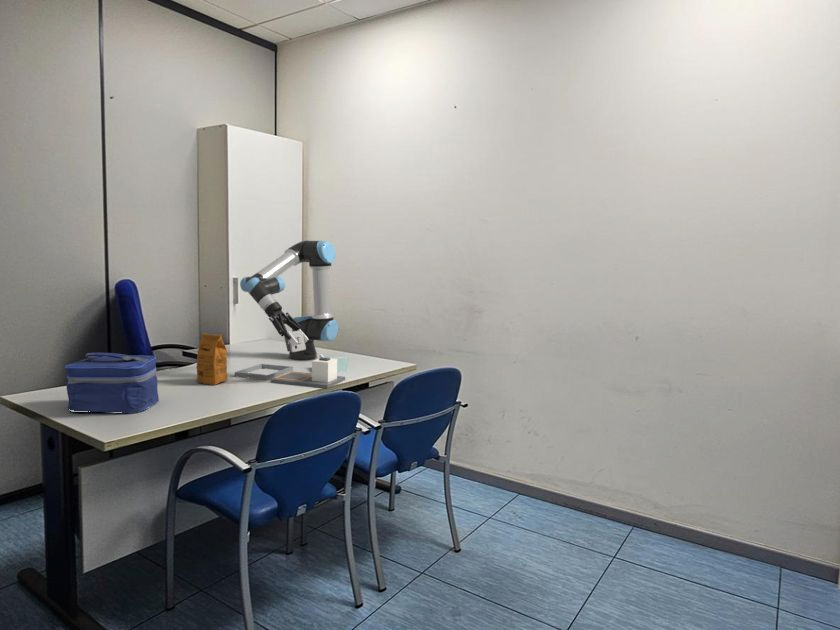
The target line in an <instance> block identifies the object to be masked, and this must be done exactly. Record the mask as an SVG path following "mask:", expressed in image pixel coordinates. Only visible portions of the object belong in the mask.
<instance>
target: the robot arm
mask: <svg viewBox="0 0 840 630" xmlns="http://www.w3.org/2000/svg"><path fill="white" fill-rule="evenodd" d="M336 254H337V253H336V249H335V247H334V245H333V244H332V243H331V242H330V241H327V240H302V241H300V242H297V243H295V244H294V245H291V246H290V247H288V248H287V249H285V251H284V252H283V254H281V256H279V257H277V258H276V259H275V260H273V261H272V262H271V263H269V264H267V265H266V266H265V267H263V268H261V269H260V270H259V271H257V272H256V273H254V274H252V275H251V276H244V277H242V279H240V284H239V285H240V289H241V291H242V292H245V293H248V295H250V296H251V298H252V299H253V300H254V301H255V302H256V303H257V305H258V306H259V307H260V309H262V311H264V313H265V314H266V315H267V317H268V320H269V321H270V322H271V323H272V325H273V326H274V328H275V330H276V331H277V333H278V334H279V336H281V337H283V338H285V337H286V338H287V340H288V341H289V342H290V343H291V344H292V346H293V347H294V346H295V345H296V344H297V343H298V342H297V341H296V339H295V338H294V337H293V336H292V335H291V333H290V332H293V331H299V330H301V331H302V333H303V337H304V342H305V346H306V349H305V350H302V351H297V352H291V351H289V353H288V356H289V358H290V359H291V360H301V359H304V360H312V358H313V359H315V358H316V359H317V358H318V357H317V356H318V353H317V350H316V347H315V344H314V343H315V341H318V342H319V341H320V342H332V341H334V339H335V338H336V336H337V335H338V333H339V332H338V331H339V324H338V322H337V321H336V320H335V319H334V315H333V314H332V313H331V295H330V294H331V292H330V275H329V274H330V273H329V270H330V268H332V263H334V261H335V260H336ZM301 263H302V264H303V263H308V265H309V268H310V269H311V270H312V271H311V272H312V290H313V291H312V292H313V295H312V296H313V312H314V313H313V314H312V315H302V316H295V317H293V316H291V315H290V313H289V312H286V313H285V312H283V311H282V309H283V307H282V305H281V304H280V303H279V302H278V300H277V299H276V298H275V297H274V295H277V294H279V293H281V292H283V291H284V290H285V288H286V284H285V280H284V279H283V278H282V277H281V276H280V275H283V273H284V272H286V271H287V270H289V269H291V268H292V267H293V266H294V267H295V266H297V265H299V264H301ZM285 325H287V326H288V328H290V329H292V331H288V330H287V327H286V326H285ZM284 336H285V337H284Z"/></svg>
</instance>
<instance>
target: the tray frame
mask: <svg viewBox="0 0 840 630" xmlns="http://www.w3.org/2000/svg"><path fill="white" fill-rule="evenodd" d="M266 368H267V369H269V370H276V369H277V371H275V372H272V373H269V374H261V373H252V372H255V371H258V370H260V369H266ZM257 369H258V370H257ZM267 369H266V370H267ZM254 370H255V371H254ZM251 371H252V372H251ZM290 371H291V372H294V366H291V365H290V366H289V365H279V364H268V363H260V364H257V365H252V366H250V367H247V368H244V369H243V368H242V369H241V370H237V371H235V372H234V376H235V377H236V376H240V377H239V378H246V377H249V378H248V379H255V378H256V379H258V380H266V381H269V380H271V379H273V378H275V377H278V376H280V375H283V374H285V373H288V372H290ZM248 372H249V373H248Z"/></svg>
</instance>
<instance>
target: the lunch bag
mask: <svg viewBox="0 0 840 630" xmlns="http://www.w3.org/2000/svg"><path fill="white" fill-rule="evenodd" d="M156 364H157V357H156V356H155V355H143V354H141V355H139V354H138V355H134V354H133V355H127V354H122V353H115V352H88V353H86V354H85V359H81V360H78V361H74V362H72V363H70V364H67V365H65V366H64V368H65V370H64V371H65V375H66V380H65V386H66V393H67V394H66V395H67V398H68V405H67V406H68V407H67V410H68V409H70V410H74V411H88V412H89V411H90V412H122V413H129V414H135V413H134V412H138V413H140V412H139V411H141V412H144V411H146V410H147V408H148V407H149V408H151V407H152V406H153V404H154V405H156V403H158V402H159V401H160V397H159V391H158V377H157V366H156ZM151 405H152V406H151ZM149 408H148V409H149ZM145 409H146V410H145ZM143 410H144V411H143Z"/></svg>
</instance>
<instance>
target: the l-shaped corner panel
mask: <svg viewBox="0 0 840 630" xmlns="http://www.w3.org/2000/svg"><path fill="white" fill-rule="evenodd" d="M322 357H324V358H326V357H325V356H324V355H323V354H322V353H319V358H322ZM330 358H331V359H337V372H342V373H348V371H349V370H348V369H349V363H348V362H349V361H348V360H349V359H348V356H341V357H330Z"/></svg>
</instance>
